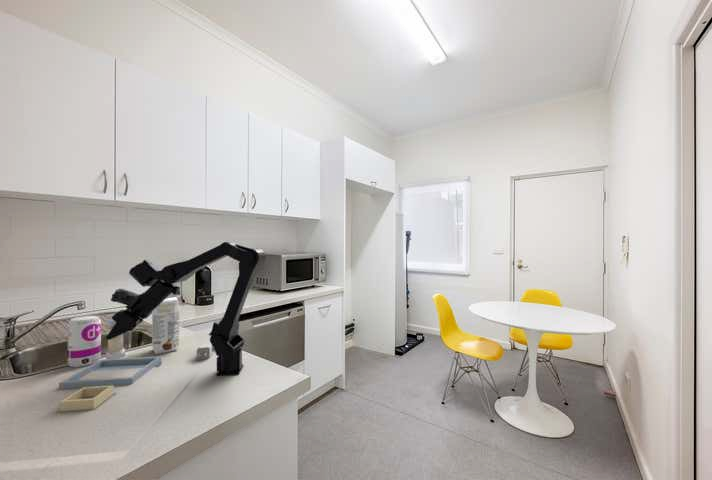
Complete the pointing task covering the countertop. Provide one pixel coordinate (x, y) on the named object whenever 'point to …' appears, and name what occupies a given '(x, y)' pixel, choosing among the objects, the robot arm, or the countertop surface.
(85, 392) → the yellow rectangular frame
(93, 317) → the supplement can
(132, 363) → the tray
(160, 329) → the juice carton
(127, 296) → the robot arm
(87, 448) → the countertop surface
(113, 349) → the pale spool-shaped piece
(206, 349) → the usb wall charger
